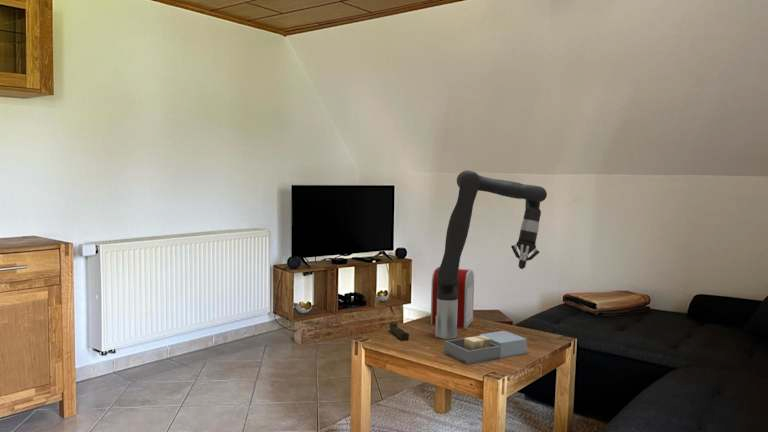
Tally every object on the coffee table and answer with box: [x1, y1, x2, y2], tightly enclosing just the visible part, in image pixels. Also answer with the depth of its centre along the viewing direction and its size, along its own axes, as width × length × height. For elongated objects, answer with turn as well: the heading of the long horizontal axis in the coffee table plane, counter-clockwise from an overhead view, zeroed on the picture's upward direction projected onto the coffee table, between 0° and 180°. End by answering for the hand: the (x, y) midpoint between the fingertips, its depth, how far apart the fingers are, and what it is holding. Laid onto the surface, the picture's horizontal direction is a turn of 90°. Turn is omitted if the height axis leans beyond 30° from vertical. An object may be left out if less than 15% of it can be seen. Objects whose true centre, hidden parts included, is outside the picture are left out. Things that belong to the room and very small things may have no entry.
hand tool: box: [389, 321, 410, 342], centre depth 272 cm, size 19×4×5 cm, turn 16°
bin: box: [443, 337, 501, 365], centre depth 243 cm, size 16×16×5 cm
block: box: [463, 335, 491, 351], centre depth 243 cm, size 6×6×9 cm
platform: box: [478, 330, 528, 359], centre depth 250 cm, size 14×14×6 cm
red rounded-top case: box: [430, 266, 475, 329], centre depth 295 cm, size 16×18×27 cm
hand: (521, 268), depth 268 cm, fingers closed
